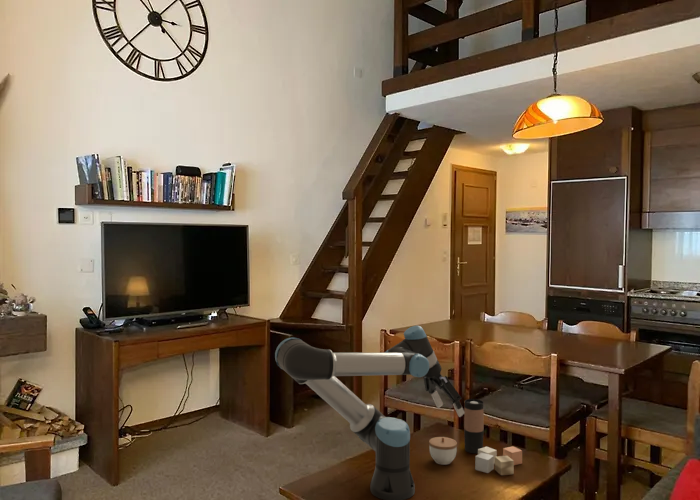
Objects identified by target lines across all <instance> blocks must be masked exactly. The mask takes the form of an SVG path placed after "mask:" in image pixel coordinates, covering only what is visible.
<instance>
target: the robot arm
mask: <svg viewBox="0 0 700 500" xmlns="http://www.w3.org/2000/svg"><path fill="white" fill-rule="evenodd" d="M403 337H404V338H403V339H402V340H401V341H399V342H398V343H397V344H395V345H394V346H392V347H390V348H388V349H387V350H386V351H384V352H333V351H332V350H331V349H329V348H328V349H327V348H326V349H325V348H324V349H323V348H318V347H314V346H311V345H310V344H308V343H307V342H305V341H303V340H302V339H300V338H297V337H288V338H285V339H284V340H282V341H281V342H280V343H279V344H278V346H277V347H276V350H275V352H274V358H275V362H276V365H277V367H279V369H281V370H283V371H284V372H285V373H286V374H287V375H289V376H290V377H291V378H292V379H293V380H294V381H295V382H296V383H297V384H299V385H304V384H305V385H307V386H308V387H309V389H311V390H312V391H314V392H315V394H316V395H318V396H319V397H320V398H321V399H322V400H323V401H324V402H326V404H328V405H329V406H330V407H331V408H333V409H334V411H336V412H337V413H338V414H339V415H340V416H341V417H342V418H344V420H346V421H347V422H348V423H349V428H350V430H351V432H353V433H354V434H355V435H356V437H358V438H359V439H360V440H361V441H362V442H363V443H365V444H366V445H367V446H369V447H370V448H371V449H372V451H374V453H375V468H374V472H373V474H372V475H373V476H372V478H371V481H370V484H369V485H370V488H369V489H370V493H371V494H372V495H373V496H374V497H375V498H377V499H380V500H408V499H410V498H411V497H413V496H414V495H415V491H416V489H415V487H416V485H415V482H414V481H415V480H414V478H413V475H412V473H411V472H412V471H411V469H410V467H411V465H410V462H411V461H410V459H411V456H410V455H411V454H410V453H411V451H410V450H411V447H410V445H411V442H410V440H411V432H410V427H409V425H408V423H407V422H406V421H405V420H403V419H400V418H397V417H390V416H385V415H384V414H383V413H382V412H381V411H380V410H378V409H377V408H376V406H374V405H373V404H371V403H365V402H364V401H363V400H362V399H360V397H358V396H357V395H356V394H355V393H354V392H353V391H352V390H351V389H350V388H348V387H347V386H346V385H345V384H344V383H343V382H342V381H341V380H340V379H338V378H337V377H353V376H354V377H355V376H356V377H357V376H403V375H404V376H409V375H411V376H412V377H414V378H423V384H424V389H425V391H426V392H428V393H429V394H430V396H431V398H432V400H433V402H434V404H435V406H436V408H437V409H440V408H441V407H442V406H443V405H444V402H443V401H442V399H441V398H442V397H441V396H440V394H439V392H438V390H437V388H438V389H440V390H442V391H443V392H444V394H446V395H447V396H446V397H448V398H449V399H450V400H451V401H452V402H451V404H452V405H453V408H454V410H455V412H456V414H457V416H458V418H461V417H463V415H464V413H465V409H464V408H463V406H462V404H461V401H460V400H462V396H461V395H460V394H459V392H458V391H457V390H456V388H455V387H454V386H453V384H452V382H451V381H450V379H449V378H448V377H447V375H445V376H443V375H442V374H441V373H442V372H441V371H442V370H443V369H442V366H441V364H440V362H439V360H438V358H437V355H436V353H435V350H434V349H433V347H432V345H431V343H430V341H429V339H428V336H427V334H426V332H425V330H424V329H423V327H422V326H420V325H413V326H410V327H409V328H407V329H406V330H405V331H404V332H403ZM436 387H437V388H436Z"/></svg>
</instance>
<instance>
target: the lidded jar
mask: <svg viewBox="0 0 700 500" xmlns="http://www.w3.org/2000/svg"><path fill="white" fill-rule="evenodd" d="M428 445H429V447H428V448H429V455H430V457H431V458H432V460H434V462H435V463H436V464H438V465H442V466H444V465H445V466H447V465H450V464H451V463H452V462H453V461H454V460H455V458H456V456H457V451H458V448H457V447H458V442H457V441H456V440H455V439H453V438H451V437H447V436H436V437H432V438H429V441H428Z"/></svg>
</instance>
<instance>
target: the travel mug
mask: <svg viewBox="0 0 700 500" xmlns="http://www.w3.org/2000/svg"><path fill="white" fill-rule="evenodd" d="M464 412H465V413H464V414H463V415H464V418H463V421H464V422H463V423H464V424H463V426H464V429H463V432H464V437H463V438H464V450H465V452H467V453H470V454H478V449H480V448H483V447H484V431H485V430H484V401H483V400H481V399H477V398H466V399H465V400H464Z"/></svg>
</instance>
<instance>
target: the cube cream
mask: <svg viewBox="0 0 700 500" xmlns="http://www.w3.org/2000/svg"><path fill="white" fill-rule="evenodd" d="M480 453H485V454H489V455H493V456H494V465H495V457H496V456H497V455H498V451H497V449H494V448H492V447H489V446H483V448H480V449H478V453H477V455H478V454H480Z"/></svg>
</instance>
